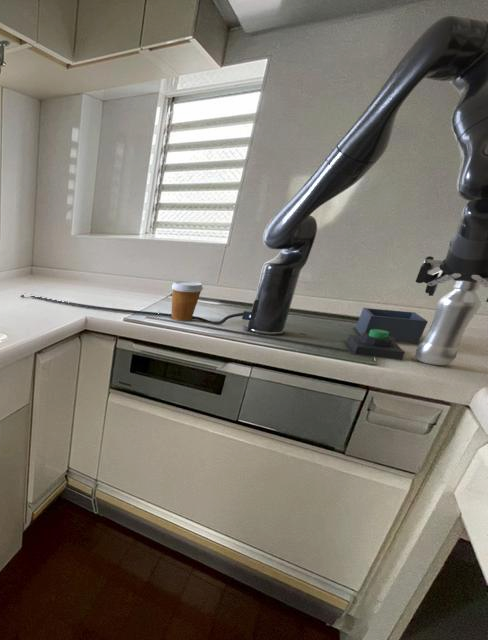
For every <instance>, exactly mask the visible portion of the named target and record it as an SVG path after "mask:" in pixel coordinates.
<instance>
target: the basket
mask: <svg viewBox="0 0 488 640" xmlns="http://www.w3.org/2000/svg"><path fill="white" fill-rule="evenodd" d="M428 322H429V321H428V320H427V319H425V318H424V317H422V316H421V315H419V314H418V313H416V312H415V311H414V312H412V311H402V310H393V309H382V308H370V307H362V310H361V313H360V315H359V318H358V320H357V324H356V325H355V326H356V327H355V330H356V331H357V333H359V335H361V333H370V330H371V329H379V330H384V331H388V332H389V334H388V336H391V337H394V338H395V341H394V342H395V343H396V342H397V343H405V344H413V345H414V344H415V345H419V344H420V341H421V338H422V337H423V334H424V332H425V329H426V328H427V324H428Z"/></svg>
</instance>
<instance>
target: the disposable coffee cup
mask: <svg viewBox="0 0 488 640" xmlns="http://www.w3.org/2000/svg"><path fill="white" fill-rule="evenodd" d="M171 289H172V291H171V292H172V295H171V313H170V314H171V317H170V318H171V319H173V320H175V321H183V322H189V321H191V320H193V319H192V316H194V313H195V310H196V307H197V303H198V301H199V298H200V295H201V292H202V291H203V290H204V287H203V283H201V282H198V281H192V280H191V281H190V280H176V281H174V282H173V283H172V285H171Z"/></svg>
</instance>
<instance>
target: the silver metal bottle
mask: <svg viewBox="0 0 488 640" xmlns="http://www.w3.org/2000/svg"><path fill="white" fill-rule="evenodd" d="M480 286H481V284H480V283H479V282H478V281H476V282H468V281H455V283H454V284H453V285H452V287H453V289H452V290H450V291H449V292H447V293H445V294H444V295H443V296H441V298H440V299H439V300H438V301H437V304H436V308H435V312H434V315H433V319H432V322H431V325H430V326H429V329H428V331H427V332H426V334H425V336H424V338H423V340H422V341H421V343H420V342H419V344H418V346H417V348H416V349H415V353H414V357H415V359H416V360H417V361H418V362H422V363H425V364H428V365H432V366H433V365H434V366H448V365H450V364H451V363H453V362H454V361H455V359H456V358H457V355H458V351H459V348H458V347H459V345H460V343H461V340H462V337H463V336H464V335H463V334H464V333H465V331H466V329H467V327H468V326H469V324H470V323H471V321H472V320H473V318H474V316H475V315H476V314H477V313H478V311H479V310H480V308H481V307H482V301H481V298H480V297H479V294H478V293H477V290H480V288H481V287H480Z"/></svg>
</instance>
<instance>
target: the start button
mask: <svg viewBox="0 0 488 640" xmlns="http://www.w3.org/2000/svg"><path fill="white" fill-rule="evenodd" d="M388 334H389V332H388V331H384V330H379V329H371V330H370V333H369V335H368V336H370V337H374V338H381V339H387V337H388Z"/></svg>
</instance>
